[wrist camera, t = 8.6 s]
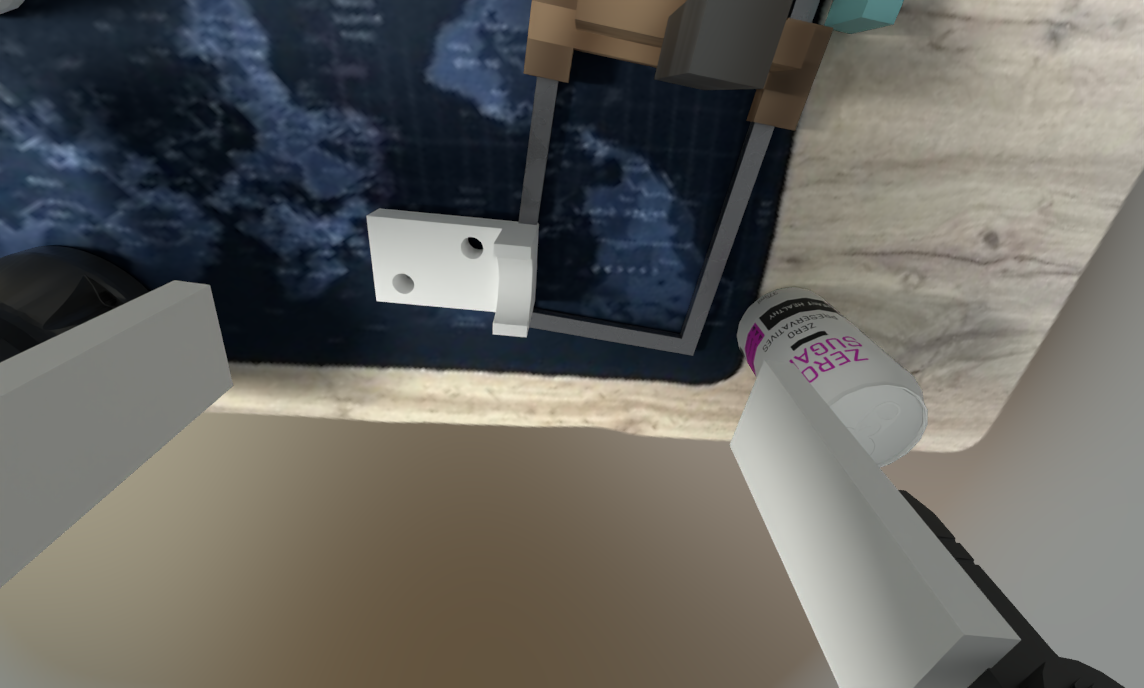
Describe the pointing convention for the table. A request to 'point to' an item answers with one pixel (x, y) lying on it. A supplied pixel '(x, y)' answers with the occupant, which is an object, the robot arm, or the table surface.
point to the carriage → (688, 46)
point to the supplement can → (838, 369)
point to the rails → (718, 248)
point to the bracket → (456, 264)
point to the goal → (862, 14)
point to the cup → (9, 5)
